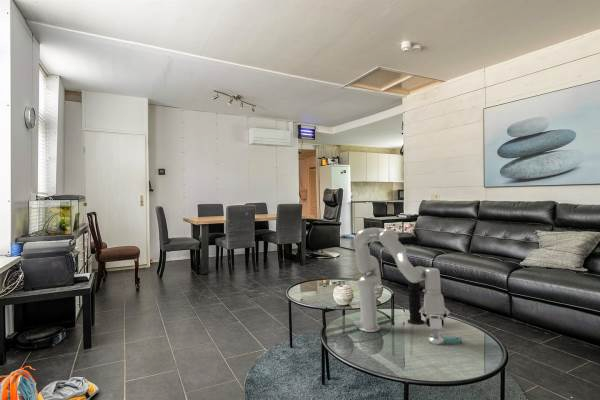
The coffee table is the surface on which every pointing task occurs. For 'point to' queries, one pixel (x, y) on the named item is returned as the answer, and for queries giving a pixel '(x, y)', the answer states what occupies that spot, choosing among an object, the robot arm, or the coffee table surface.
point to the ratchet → (442, 339)
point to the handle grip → (414, 303)
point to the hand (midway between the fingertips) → (435, 325)
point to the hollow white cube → (435, 322)
